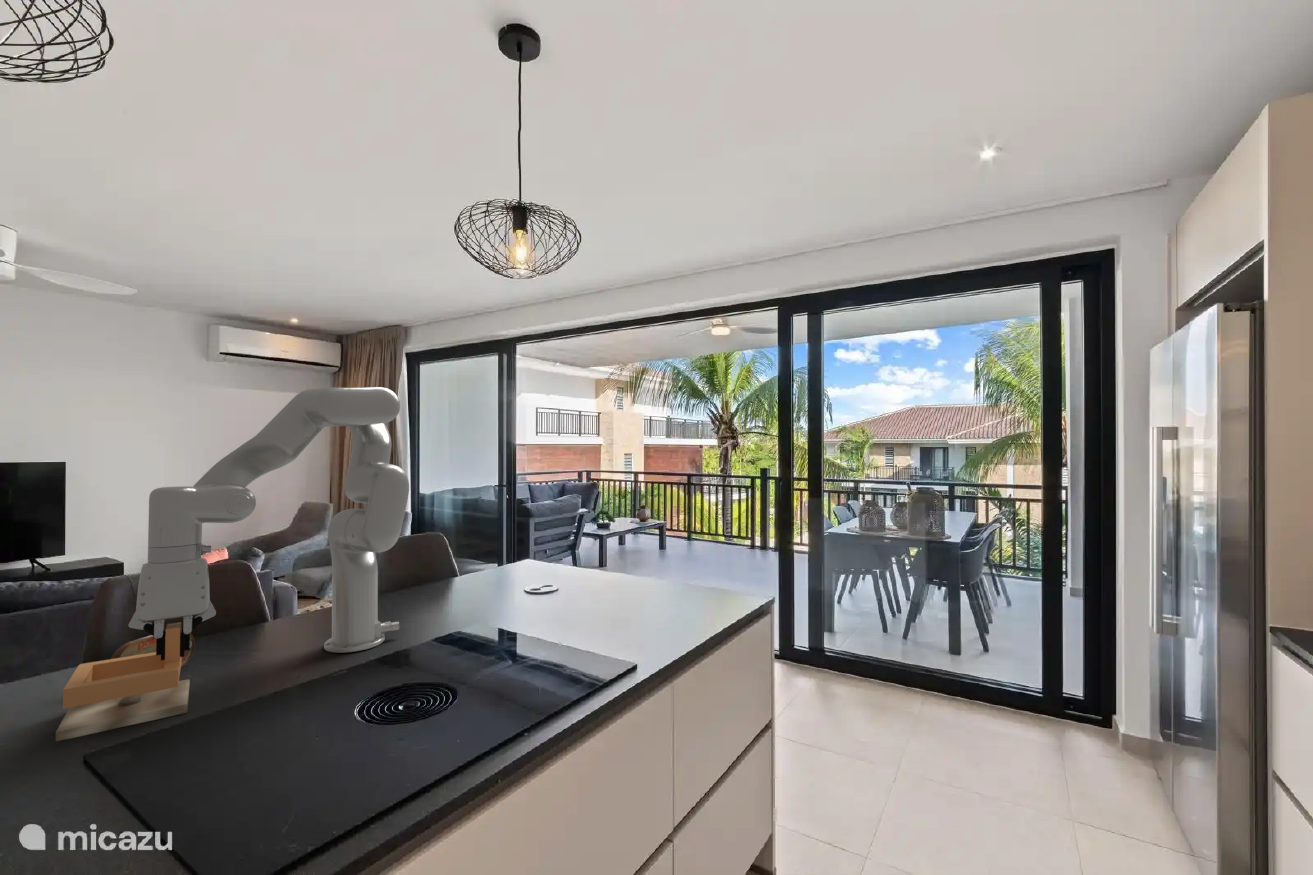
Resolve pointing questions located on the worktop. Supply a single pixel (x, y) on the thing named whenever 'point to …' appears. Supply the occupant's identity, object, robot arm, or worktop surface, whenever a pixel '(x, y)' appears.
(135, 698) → the post
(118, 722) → the board
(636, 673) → the worktop surface
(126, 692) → the orange walled frame piece
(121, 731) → the worktop surface
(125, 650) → the tin
